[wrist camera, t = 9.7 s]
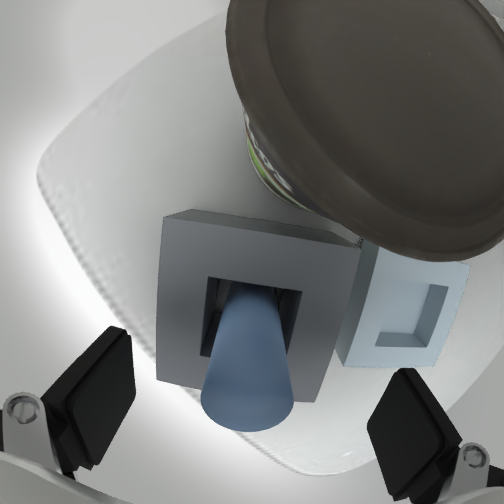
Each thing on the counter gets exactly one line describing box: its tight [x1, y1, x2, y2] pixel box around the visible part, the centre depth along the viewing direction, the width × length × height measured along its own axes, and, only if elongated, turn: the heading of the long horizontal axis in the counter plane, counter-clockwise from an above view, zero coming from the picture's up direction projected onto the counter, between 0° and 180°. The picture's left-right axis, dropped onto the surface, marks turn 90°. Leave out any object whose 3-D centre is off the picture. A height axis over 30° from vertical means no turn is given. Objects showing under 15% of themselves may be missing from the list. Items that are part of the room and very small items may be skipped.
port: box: [156, 209, 361, 402], centre depth 17 cm, size 10×10×6 cm
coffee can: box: [225, 0, 504, 262], centre depth 11 cm, size 10×10×14 cm
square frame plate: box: [334, 238, 471, 368], centre depth 19 cm, size 9×9×3 cm
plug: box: [201, 280, 294, 432], centre depth 14 cm, size 3×3×12 cm
